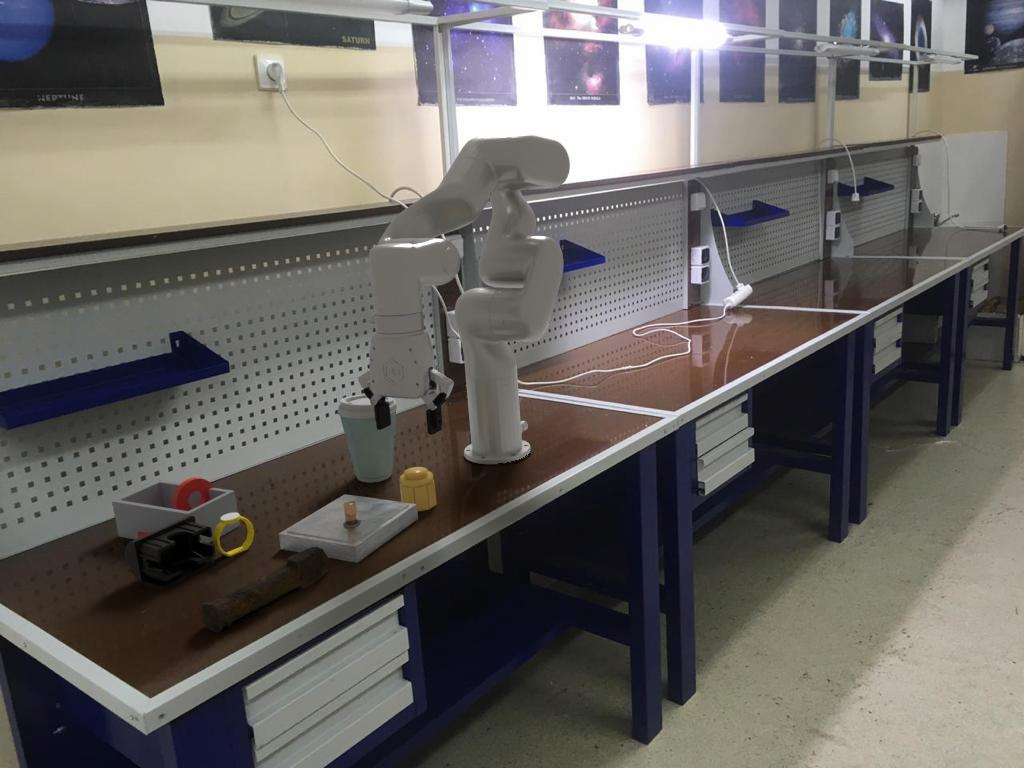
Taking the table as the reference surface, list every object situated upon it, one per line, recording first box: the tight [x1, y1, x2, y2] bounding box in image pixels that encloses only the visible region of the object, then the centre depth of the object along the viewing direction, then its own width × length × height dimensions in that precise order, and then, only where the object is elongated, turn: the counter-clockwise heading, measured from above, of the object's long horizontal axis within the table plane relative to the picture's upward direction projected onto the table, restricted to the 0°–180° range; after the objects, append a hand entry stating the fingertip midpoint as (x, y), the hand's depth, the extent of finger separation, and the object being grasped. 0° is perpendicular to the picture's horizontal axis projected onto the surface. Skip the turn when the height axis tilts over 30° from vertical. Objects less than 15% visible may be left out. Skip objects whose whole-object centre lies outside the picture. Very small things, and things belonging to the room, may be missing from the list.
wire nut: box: [398, 466, 438, 512], centre depth 141 cm, size 5×5×6 cm
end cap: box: [124, 516, 216, 591], centre depth 123 cm, size 10×7×7 cm
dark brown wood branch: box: [200, 547, 331, 634], centre depth 113 cm, size 19×4×5 cm, turn 139°
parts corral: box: [111, 479, 241, 544], centre depth 138 cm, size 10×17×6 cm, turn 63°
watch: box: [212, 512, 255, 558], centre depth 128 cm, size 6×3×6 cm, turn 137°
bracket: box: [138, 476, 215, 538], centre depth 137 cm, size 12×4×8 cm, turn 138°
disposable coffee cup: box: [337, 393, 399, 484], centre depth 155 cm, size 11×11×15 cm
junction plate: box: [278, 494, 419, 564], centre depth 132 cm, size 16×14×6 cm
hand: (409, 429), depth 138 cm, fingers open, 9 cm apart
